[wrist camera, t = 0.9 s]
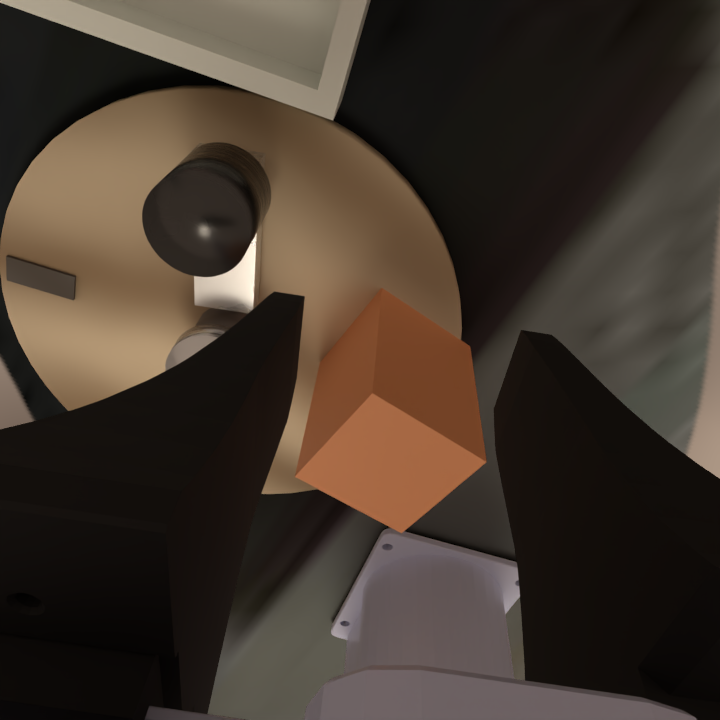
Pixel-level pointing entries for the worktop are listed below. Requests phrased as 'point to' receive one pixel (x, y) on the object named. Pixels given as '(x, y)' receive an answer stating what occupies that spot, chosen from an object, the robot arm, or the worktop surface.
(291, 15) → the tray
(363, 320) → the block
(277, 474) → the crank plate
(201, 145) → the dark grey cylinder
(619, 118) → the worktop surface
